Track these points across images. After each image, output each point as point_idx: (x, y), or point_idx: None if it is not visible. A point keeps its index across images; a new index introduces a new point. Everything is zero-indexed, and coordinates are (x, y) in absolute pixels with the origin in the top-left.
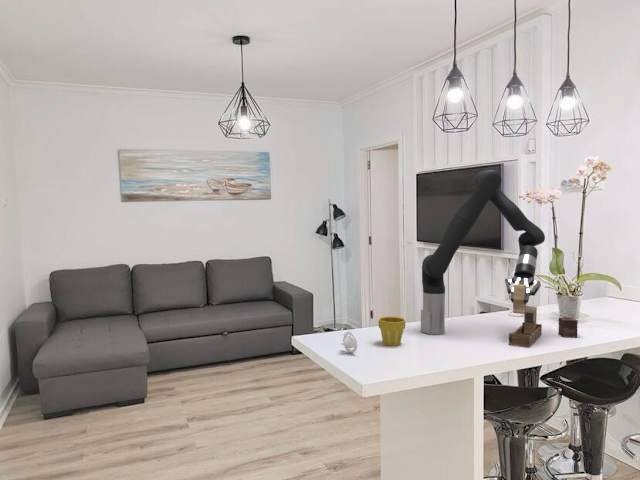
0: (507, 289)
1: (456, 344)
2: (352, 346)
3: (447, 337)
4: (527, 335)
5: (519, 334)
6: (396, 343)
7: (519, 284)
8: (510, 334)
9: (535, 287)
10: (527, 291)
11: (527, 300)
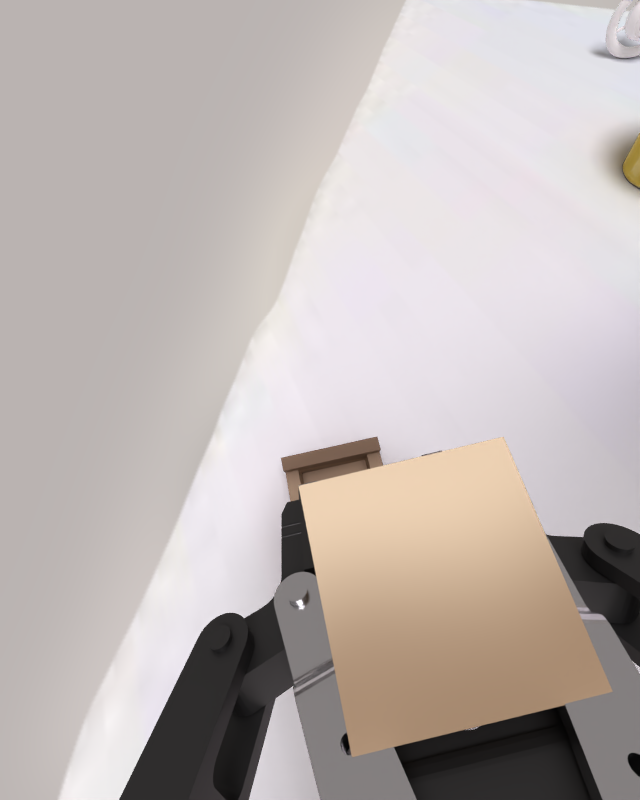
0: (618, 528)
1: (514, 309)
2: (625, 26)
3: (626, 374)
4: (293, 462)
5: (330, 454)
6: (626, 158)
7: (478, 629)
8: (369, 438)
9: (160, 758)
10: (297, 590)
11: (287, 511)
